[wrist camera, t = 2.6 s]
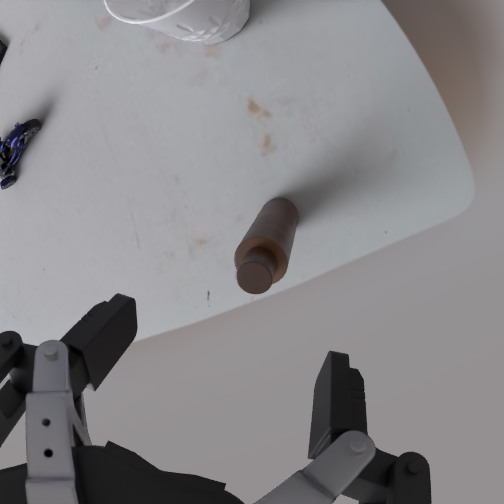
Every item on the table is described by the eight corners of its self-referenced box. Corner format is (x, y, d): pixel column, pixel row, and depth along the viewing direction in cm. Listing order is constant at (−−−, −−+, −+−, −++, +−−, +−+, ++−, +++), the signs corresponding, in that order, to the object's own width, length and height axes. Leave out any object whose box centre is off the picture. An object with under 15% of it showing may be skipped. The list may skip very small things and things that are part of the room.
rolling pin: (301, 202, 25) (289, 259, 16) (294, 237, 27) (277, 309, 17) (264, 194, 26) (228, 244, 16) (258, 229, 27) (221, 295, 17)
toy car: (10, 189, 32) (-11, 197, 28) (-4, 151, 30) (-24, 157, 27) (52, 143, 28) (27, 149, 24) (36, 99, 26) (12, 102, 22)
